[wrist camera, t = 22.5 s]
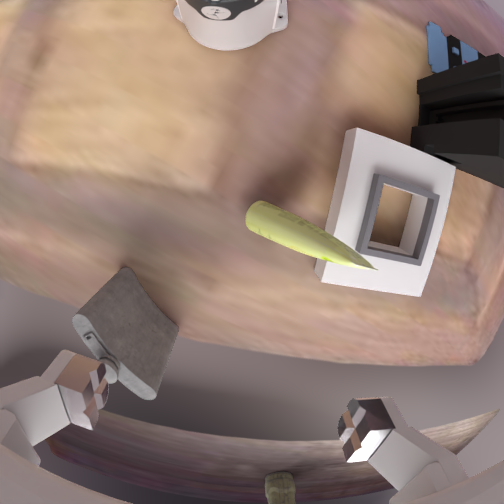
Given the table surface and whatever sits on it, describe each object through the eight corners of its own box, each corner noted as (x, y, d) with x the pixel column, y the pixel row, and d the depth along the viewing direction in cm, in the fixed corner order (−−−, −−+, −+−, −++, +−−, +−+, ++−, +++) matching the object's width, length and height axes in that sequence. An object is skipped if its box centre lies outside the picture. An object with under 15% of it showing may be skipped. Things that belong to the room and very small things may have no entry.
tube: (244, 238, 44) (354, 298, 32) (237, 210, 41) (358, 265, 29) (270, 221, 47) (378, 270, 34) (266, 193, 44) (383, 238, 31)
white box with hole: (345, 130, 42) (362, 126, 35) (439, 165, 44) (462, 167, 37) (314, 270, 49) (324, 287, 42) (407, 286, 51) (425, 301, 44)
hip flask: (182, 331, 52) (157, 408, 33) (166, 340, 53) (137, 415, 33) (127, 263, 48) (71, 319, 29) (113, 275, 48) (56, 332, 29)
